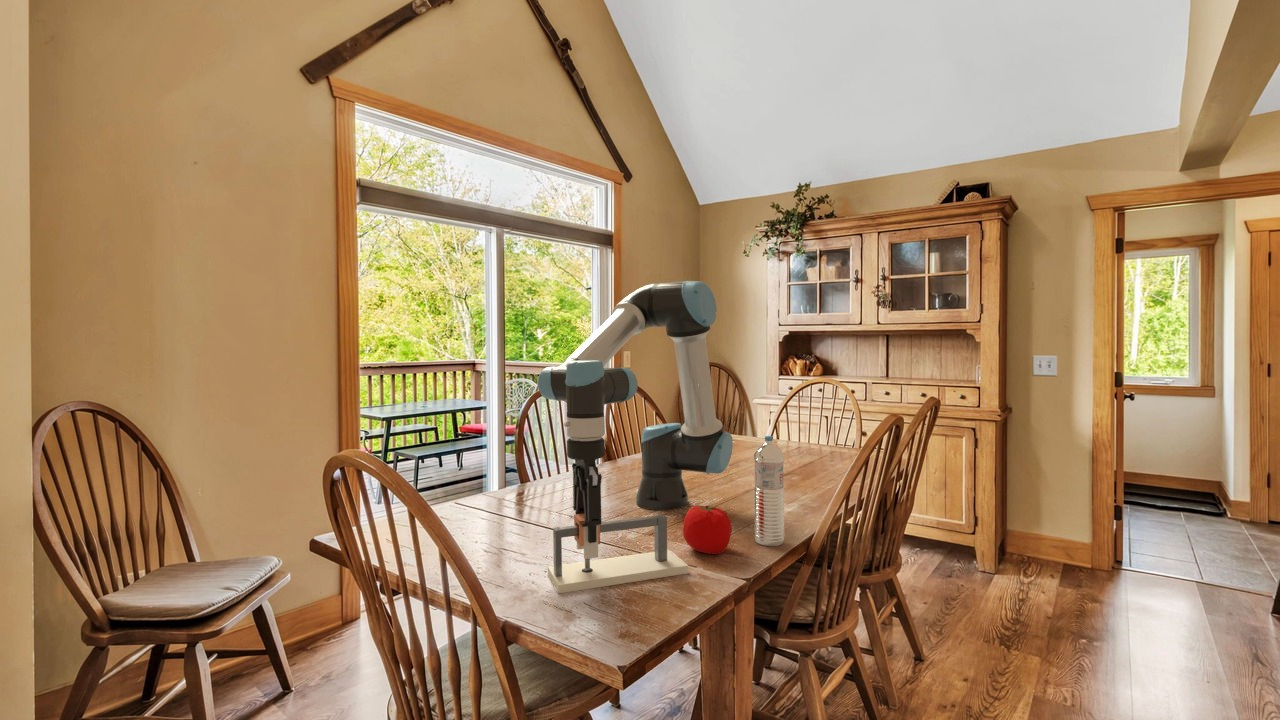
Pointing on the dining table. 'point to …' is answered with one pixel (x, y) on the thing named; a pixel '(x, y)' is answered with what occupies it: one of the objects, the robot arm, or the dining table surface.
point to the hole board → (616, 571)
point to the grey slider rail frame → (617, 525)
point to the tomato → (707, 529)
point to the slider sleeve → (580, 520)
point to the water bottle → (769, 494)
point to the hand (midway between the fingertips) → (587, 552)
